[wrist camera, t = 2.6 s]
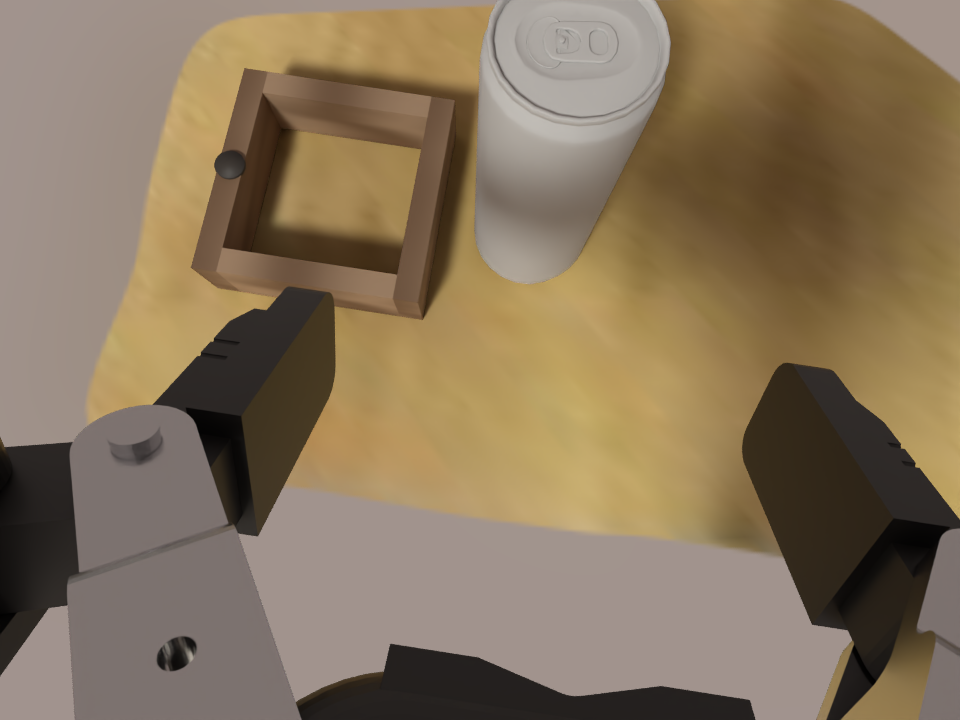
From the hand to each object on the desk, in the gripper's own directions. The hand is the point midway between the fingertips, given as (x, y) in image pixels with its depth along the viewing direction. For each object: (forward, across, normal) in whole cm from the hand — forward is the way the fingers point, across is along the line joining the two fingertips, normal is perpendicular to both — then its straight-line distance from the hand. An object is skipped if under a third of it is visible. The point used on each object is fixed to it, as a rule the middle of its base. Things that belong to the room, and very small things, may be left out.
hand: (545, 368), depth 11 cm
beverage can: (+16, 0, +4) cm, 17 cm away
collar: (+16, +8, +4) cm, 18 cm away
